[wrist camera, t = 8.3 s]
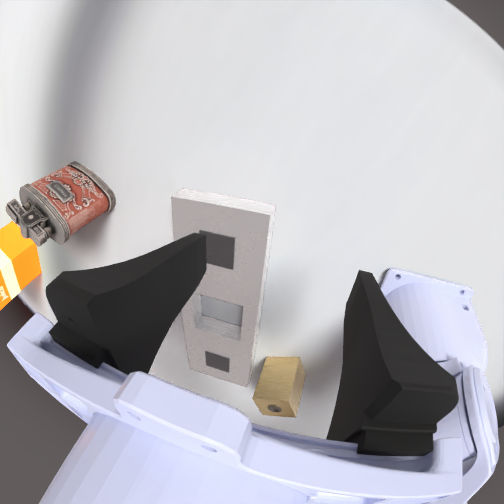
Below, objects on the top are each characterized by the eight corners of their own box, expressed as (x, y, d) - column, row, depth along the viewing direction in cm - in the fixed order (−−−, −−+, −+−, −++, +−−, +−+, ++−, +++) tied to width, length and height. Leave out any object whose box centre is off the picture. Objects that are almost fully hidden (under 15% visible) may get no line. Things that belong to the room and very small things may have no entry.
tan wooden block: (299, 356, 30) (288, 401, 25) (305, 376, 32) (295, 417, 27) (266, 356, 31) (252, 398, 26) (275, 375, 33) (262, 415, 28)
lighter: (119, 192, 25) (43, 241, 17) (112, 216, 27) (44, 267, 19) (72, 154, 24) (-1, 190, 16) (67, 178, 26) (1, 216, 18)
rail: (276, 204, 21) (270, 215, 19) (251, 375, 34) (246, 387, 33) (183, 188, 23) (170, 197, 21) (196, 357, 36) (189, 369, 34)
